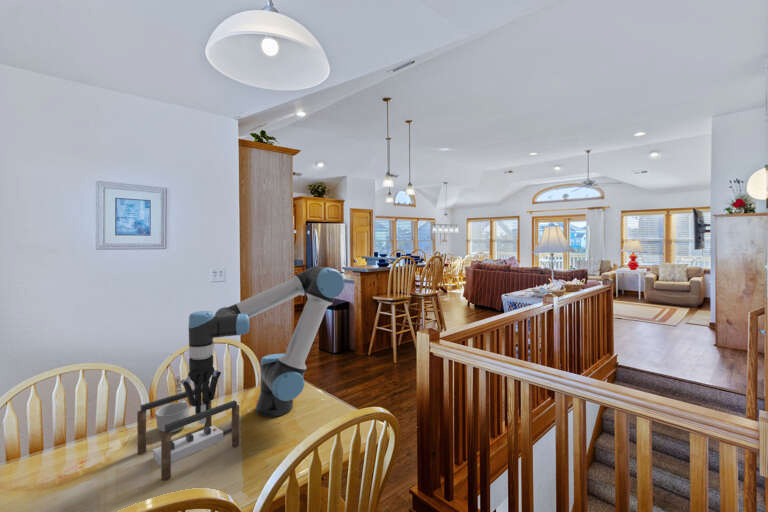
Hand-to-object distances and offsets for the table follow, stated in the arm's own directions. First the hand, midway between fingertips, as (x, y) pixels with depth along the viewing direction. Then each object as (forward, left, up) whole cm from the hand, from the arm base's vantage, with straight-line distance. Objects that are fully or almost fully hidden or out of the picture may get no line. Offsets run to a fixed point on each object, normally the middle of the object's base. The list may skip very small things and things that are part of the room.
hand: (201, 422), depth 124 cm
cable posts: (+4, 0, -8) cm, 9 cm away
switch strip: (+1, 0, -8) cm, 8 cm away
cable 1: (+4, -10, +7) cm, 13 cm away
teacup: (+1, -19, -8) cm, 21 cm away
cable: (+4, +10, +7) cm, 13 cm away
